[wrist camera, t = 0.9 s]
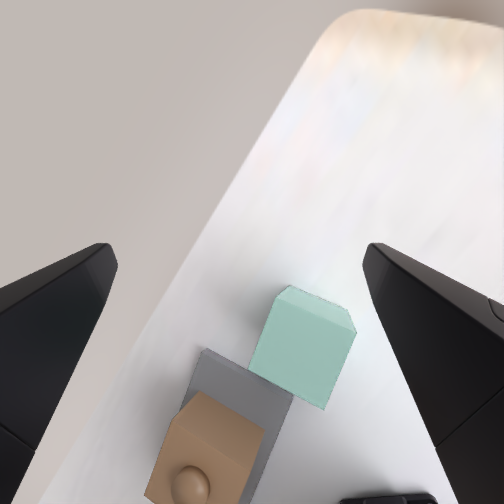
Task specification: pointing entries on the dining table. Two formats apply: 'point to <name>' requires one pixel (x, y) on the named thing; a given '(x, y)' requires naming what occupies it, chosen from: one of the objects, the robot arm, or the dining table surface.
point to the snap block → (304, 345)
